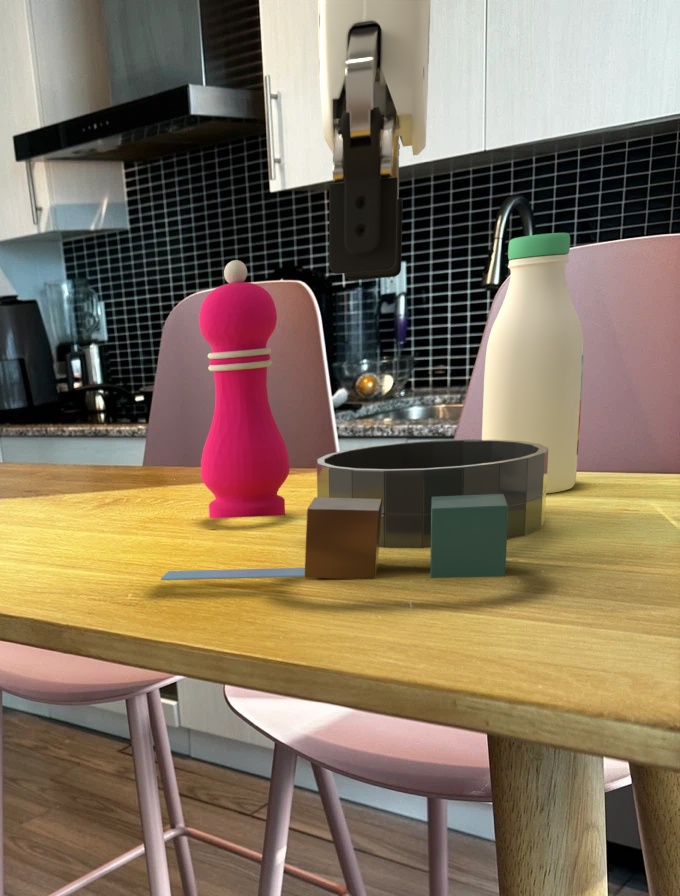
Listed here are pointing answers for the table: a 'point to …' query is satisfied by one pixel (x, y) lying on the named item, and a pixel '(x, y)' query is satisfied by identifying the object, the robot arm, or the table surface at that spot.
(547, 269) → the milk bottle
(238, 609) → the table surface
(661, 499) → the table surface
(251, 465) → the pepper mill
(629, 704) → the table surface
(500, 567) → the teal block
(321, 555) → the walnut block
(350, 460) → the dark round bowl
